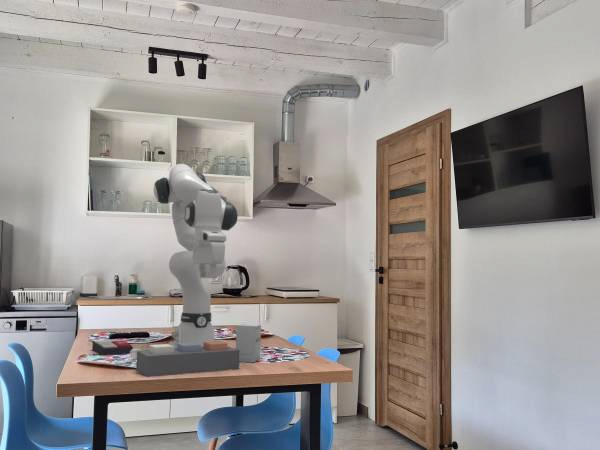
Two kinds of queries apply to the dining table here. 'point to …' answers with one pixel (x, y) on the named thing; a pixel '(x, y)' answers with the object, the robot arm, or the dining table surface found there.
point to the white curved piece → (133, 355)
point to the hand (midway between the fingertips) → (206, 277)
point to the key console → (186, 361)
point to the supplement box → (248, 342)
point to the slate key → (188, 347)
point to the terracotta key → (215, 345)
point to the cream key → (161, 349)
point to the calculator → (111, 347)
